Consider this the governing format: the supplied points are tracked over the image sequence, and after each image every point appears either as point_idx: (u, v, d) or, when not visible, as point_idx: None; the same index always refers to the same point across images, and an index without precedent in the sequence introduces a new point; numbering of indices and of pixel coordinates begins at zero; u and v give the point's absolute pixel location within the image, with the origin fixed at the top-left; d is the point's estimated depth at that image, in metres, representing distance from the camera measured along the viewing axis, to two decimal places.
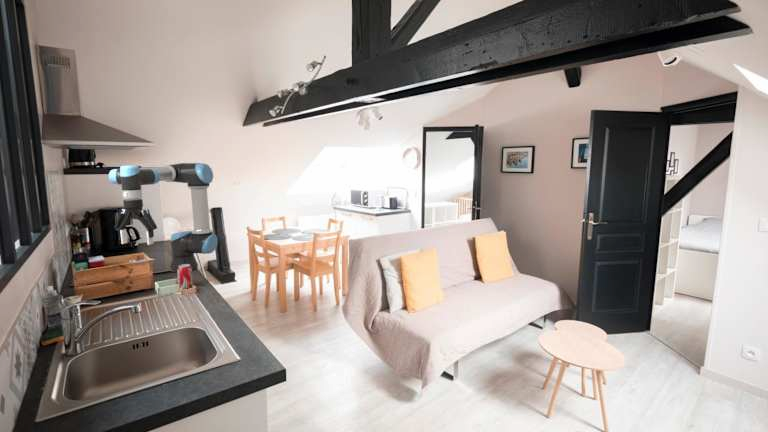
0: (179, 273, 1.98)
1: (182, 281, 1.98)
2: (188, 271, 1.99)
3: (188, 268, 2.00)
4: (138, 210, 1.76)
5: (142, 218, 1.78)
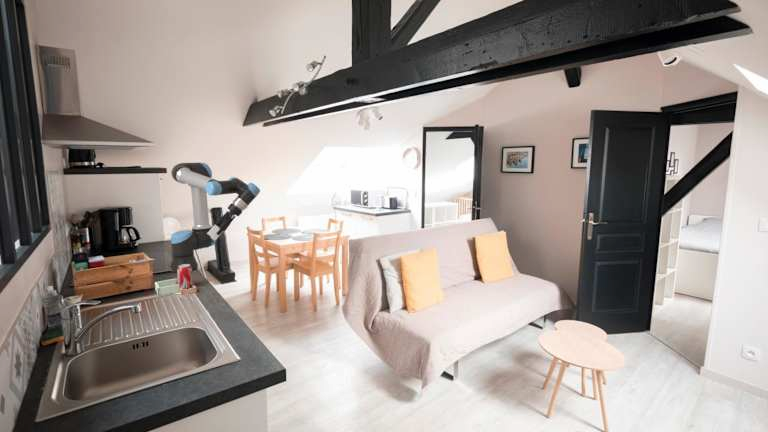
0: (179, 273, 1.98)
1: (182, 281, 1.98)
2: (188, 271, 1.99)
3: (188, 268, 2.00)
4: None
5: None
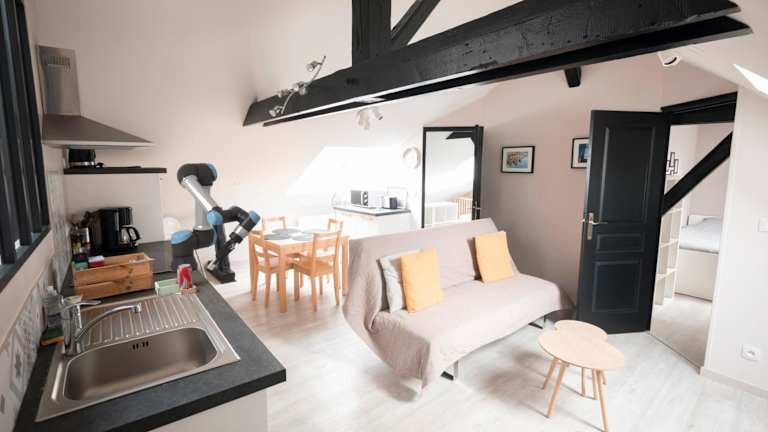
0: (179, 273, 1.98)
1: (182, 281, 1.98)
2: (188, 271, 1.99)
3: (188, 268, 2.00)
4: None
5: None
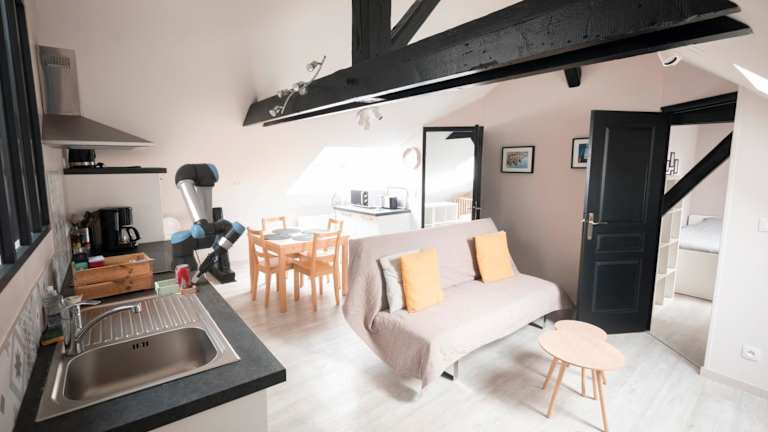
0: (177, 273, 1.97)
1: (181, 281, 1.98)
2: (186, 271, 1.99)
3: (186, 268, 1.99)
4: None
5: None
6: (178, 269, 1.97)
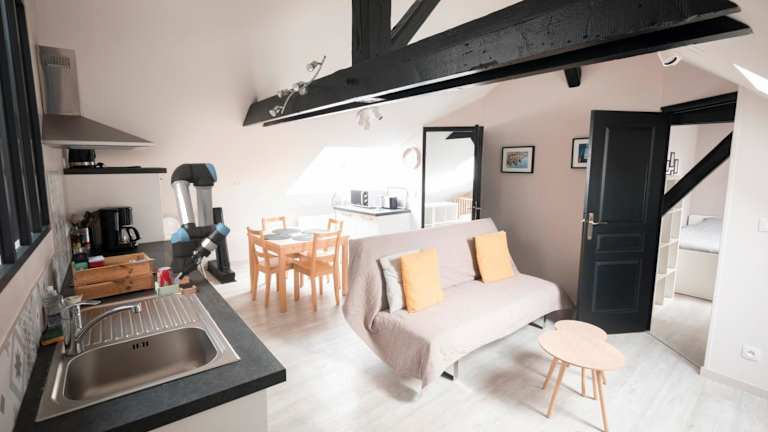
0: (159, 276, 1.93)
1: (163, 284, 1.93)
2: (169, 274, 1.95)
3: (169, 271, 1.95)
4: None
5: None
6: (160, 272, 1.93)
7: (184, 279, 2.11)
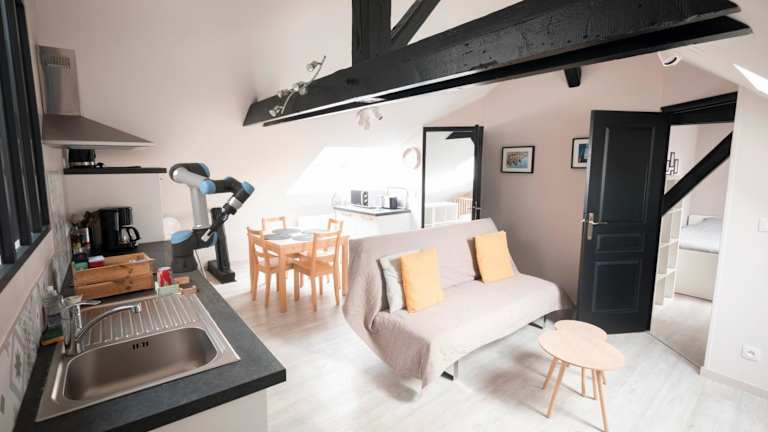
0: (159, 276, 1.93)
1: (163, 284, 1.93)
2: (169, 274, 1.95)
3: (169, 271, 1.95)
4: None
5: None
6: (160, 272, 1.93)
7: (184, 279, 2.11)
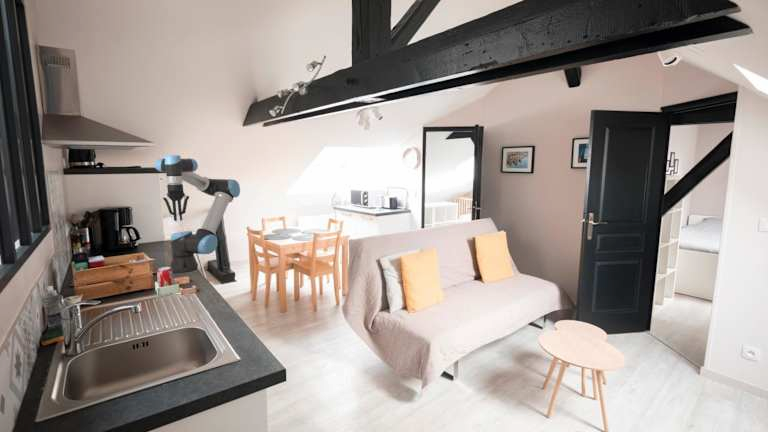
0: (159, 276, 1.93)
1: (163, 284, 1.93)
2: (169, 274, 1.95)
3: (169, 271, 1.95)
4: (183, 193, 2.09)
5: (180, 202, 2.09)
6: (160, 272, 1.93)
7: (184, 279, 2.11)
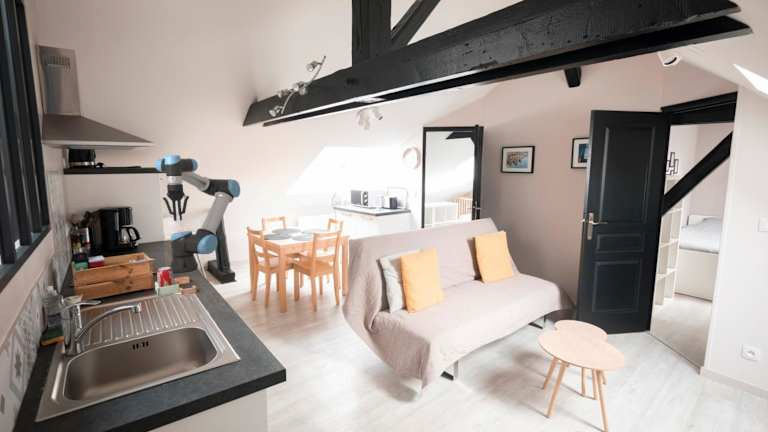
0: (159, 276, 1.93)
1: (163, 284, 1.93)
2: (169, 274, 1.95)
3: (169, 271, 1.95)
4: (183, 193, 2.09)
5: None
6: (160, 272, 1.93)
7: (184, 279, 2.11)
